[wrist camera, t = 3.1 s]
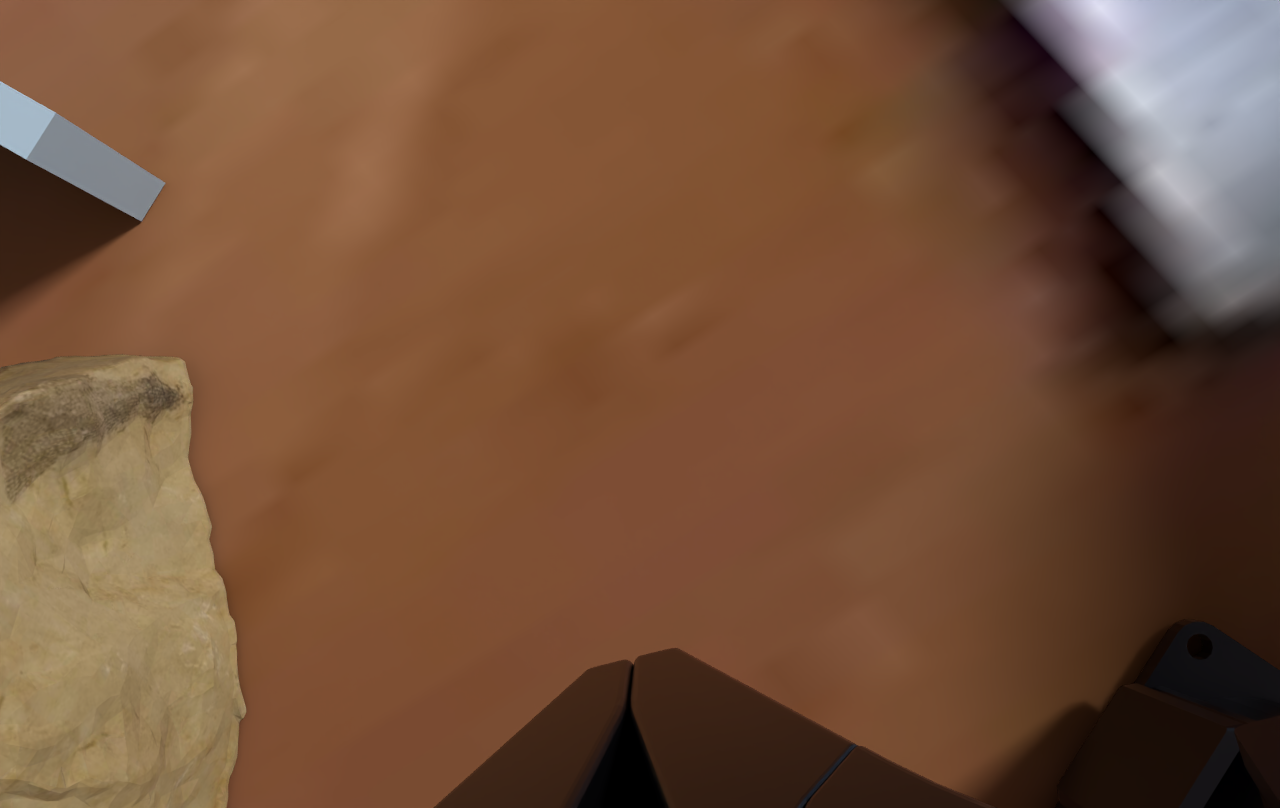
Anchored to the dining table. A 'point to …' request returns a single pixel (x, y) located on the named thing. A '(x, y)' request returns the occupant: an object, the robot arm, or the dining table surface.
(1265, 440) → the dining table surface
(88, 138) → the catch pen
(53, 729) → the rock
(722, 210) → the dining table surface
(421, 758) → the dining table surface
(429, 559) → the dining table surface
